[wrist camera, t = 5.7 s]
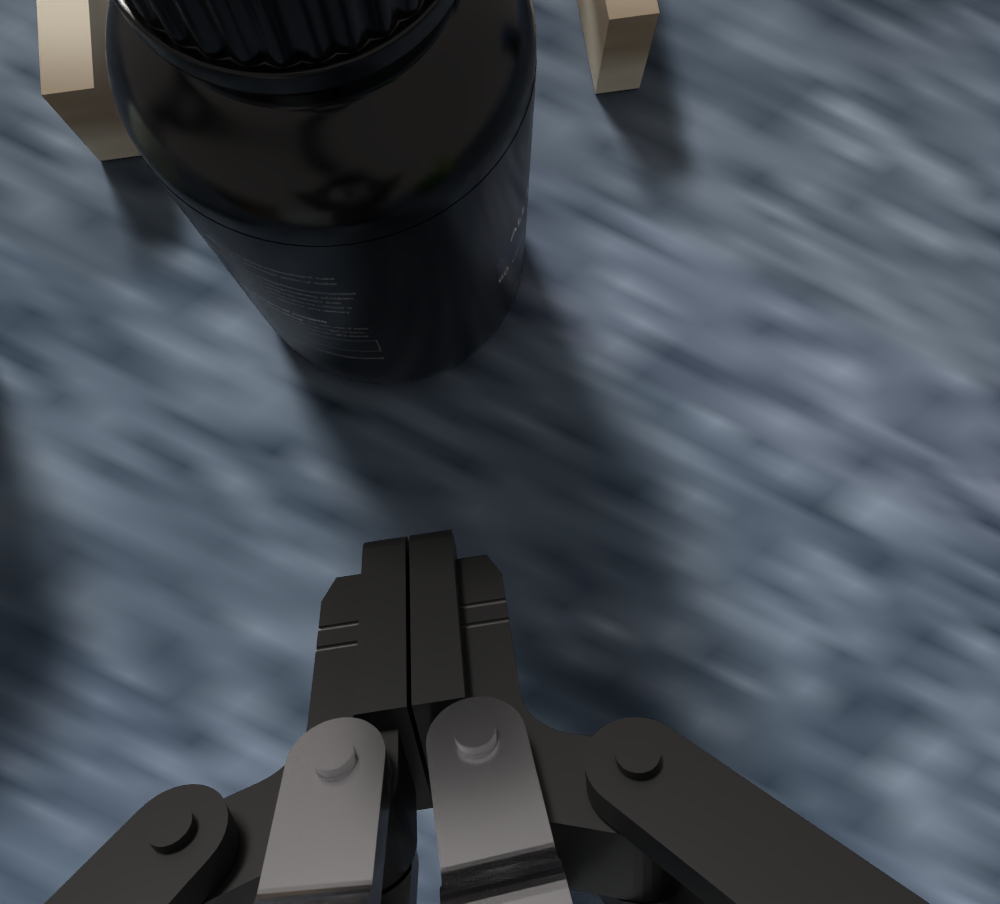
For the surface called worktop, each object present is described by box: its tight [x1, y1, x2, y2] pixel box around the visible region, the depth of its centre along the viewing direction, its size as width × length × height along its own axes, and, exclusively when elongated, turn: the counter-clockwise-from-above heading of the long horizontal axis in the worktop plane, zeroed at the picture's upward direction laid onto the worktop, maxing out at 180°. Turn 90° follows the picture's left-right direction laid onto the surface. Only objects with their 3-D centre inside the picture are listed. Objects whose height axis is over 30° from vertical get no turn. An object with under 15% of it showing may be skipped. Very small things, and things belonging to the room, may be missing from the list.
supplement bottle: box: [105, 0, 537, 383], centre depth 15 cm, size 7×7×12 cm
